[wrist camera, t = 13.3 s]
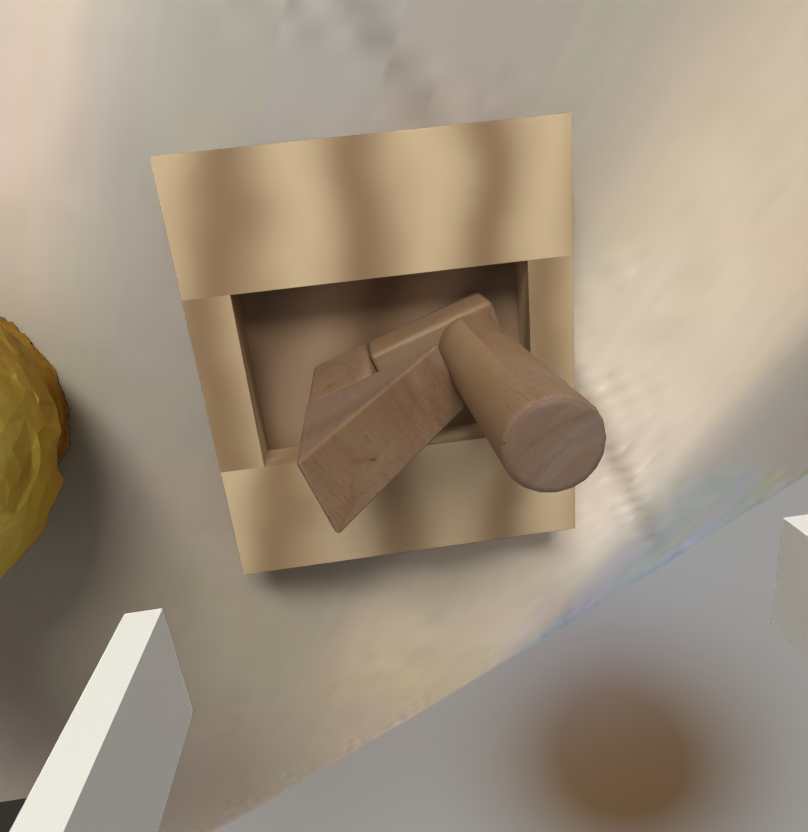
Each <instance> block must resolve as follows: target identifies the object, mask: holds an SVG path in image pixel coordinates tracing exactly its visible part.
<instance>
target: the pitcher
mask: <svg viewBox="0 0 808 832" xmlns="http://www.w3.org/2000/svg"><path fill="white" fill-rule="evenodd" d="M61 390H62V388H61V385H59V384H58V378H57V374H56V371H55V369H54V368H53V366H52V365H51V364H49V363H48V360H45V357H44V356H43V355H42V354H41V353H40V352H39V351H38V350H36V349H35V348H34V346H33V345H32V344H31V340H29V339H28V338H27V337H26V335H25V334H23V333H19V332H18V330H17V328H16V326H15V324H14V323H13V322H7V321H5V318H2V317H0V579H1V578H2V577H3V576H4V575H5V574H6V573H7V572H8V570H9V569H10V568H11V567H12V566H13V565H15V564H16V563H17V562H18V561H20V560H21V558H22V557H23V555H24V554H25V552H26V551H27V550H28V548H30V547H31V546H32V545H33V544H34V543H35V541H36V540H37V538H38V537H39V535H40V534H41V533H42V532H43V531H44V529H45V527H46V525H47V521H48V515H49V511H50V509H51V508H52V506H53V504H54V502H55V500H56V498H57V496H58V494H59V492H60V489H61V487H62V484H63V482H64V479H63V478H62V476H61V474H60V472H59V470H58V468H57V464H59V462H60V461H61V459H62V456H64V455H65V454H66V450H67V449H69V445H71V444H70V443H69V442H70V440H69V437H70V433H69V431H68V430H67V428H68V427H69V425H68V416H69V415H67V412H68V411H69V408H67V407H68V404H66V402H65V397H64V395H63V394H64V392H62V391H61Z"/></svg>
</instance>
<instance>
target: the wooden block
mask: <svg viewBox="0 0 808 832" xmlns="http://www.w3.org/2000/svg"><path fill="white" fill-rule="evenodd" d="M454 384H455V385H454ZM455 386H456V387H455ZM456 388H457V389H458V391H459V393H460V394H461V396H462V398H463V399H464V401H465V403H466V405H467V406H468V408H469V410H470V411H471V413H472V415H473V416H474V418H475V420H476V421H477V423H478V425H479V426H480V428H481V430H482V432H483V433H484V435H485V437H486V438H487V440H488V442H489V443H490V445H491V447H492V448H493V450H494V452H495V453H496V455H497V457H498V459H499V460H500V462H501V464H502V465H503V467H504V468H505V470H506V471H507V473H508V474H509V476H510V477H511V479H513V480H514V481H515V482H517V483H518V484H520V485H521V486H522V487H524V488H527V489H531V490H534V491H537V492H560V491H563V490H567V489H570V488H573V487H574V486H576V485H577V484H579V483H581V482H582V481H584V480H586V478H587V477H588V476H589V475H590V474H591V473H592V472H593V471H594V470H595V469H596V467H597V466H598V464H599V462H600V460H601V458H602V456H603V453H604V447H605V441H606V434H605V428H604V422H603V419H602V417H601V416H600V414H599V412H598V411H597V409H596V407H595V406H593V405H592V404H591V403H590V402H589V401H587V400H586V399H585V398H584V397H583V396H582V395H580V394H579V393H578V392H577V391H576V390H574V389H573V388H572V387H571V386H570V385H568V384H567V383H566V382H565V381H564V380H562V379H561V378H560V377H559V376H558V375H556V374H555V373H554V372H553V371H552V370H550V369H549V368H548V367H547V366H546V365H544V364H543V363H542V362H541V361H540V360H538V359H537V358H536V357H535V356H534V355H532V354H531V353H530V352H529V351H528V350H527V349H525V348H524V347H523V346H522V345H521V344H519V343H518V342H517V341H516V340H515V339H513V338H512V337H511V336H510V335H509V334H507V333H506V332H505V331H504V330H503V329H502V328H501V325H500V323H499V320H498V318H497V315H496V313H495V310H494V307H493V305H492V303H491V302H490V301H489V300H487V299H486V298H485V297H483V296H482V295H480V294H479V293H478V292H475V293H472V294H469V295H467V296H465V297H463V298H461V299H459V300H457V301H455V302H452V303H450V304H448V305H446V306H444V307H442V308H440V309H437V310H435V311H433V312H431V313H429V314H427V315H425V316H423V317H420V318H418V319H416V320H414V321H412V322H410V323H408V324H405V325H403V326H401V327H399V328H397V329H395V330H393V331H390V332H388V333H386V334H384V335H382V336H380V337H378V338H376V339H373V340H371V341H370V342H369V347H367V346H366V345H360V346H358V347H356V348H354V349H352V350H350V351H348V352H345V353H343V354H341V355H339V356H337V357H335V358H333V359H331V360H328V361H326V362H324V363H322V364H320V365H318V366H316V368H315V369H314V372H313V378H312V384H311V390H310V396H309V402H308V405H307V407H306V413H305V419H304V425H303V430H302V436H301V442H300V448H299V454H298V460H297V466H298V467H299V469H300V471H301V473H302V474H303V476H304V478H305V480H306V481H307V483H308V485H309V487H310V488H311V490H312V492H313V494H314V495H315V497H316V499H317V501H318V502H319V504H320V506H321V508H322V509H323V511H324V513H325V515H326V516H327V518H328V520H329V522H330V523H331V525H332V527H333V529H334V530H335V532H338V533H340V532H342V531H343V530H344V528H345V527H346V526H347V525H348V524H349V523H350V522H351V521H352V520H353V519H354V518H355V517H356V516H357V515H358V514H359V513H360V512H361V511H362V510H363V509H364V508H365V507H366V506H367V505H368V504H369V503H370V502H371V501H372V500H373V499H374V498H375V497H376V496H377V495H378V494H379V493H380V492H381V491H382V490H383V489H384V488H385V487H386V486H387V485H388V484H389V483H390V482H391V481H392V480H393V479H394V478H395V477H396V476H397V475H398V474H399V473H400V472H401V471H402V470H403V469H404V468H405V467H406V466H407V465H408V464H409V463H410V462H411V461H412V460H413V459H414V458H415V456H416V455H417V454H418V453H419V452H420V451H421V450H422V449H423V448H424V447H425V446H426V445H427V444H428V443H429V442H430V441H431V440H432V439H433V438H434V437H435V436H436V435H437V434H438V433H439V432H440V431H441V430H442V429H443V428H444V427H445V426H446V425H447V424H448V423H449V422H450V421H451V420H452V419H453V418H454V417H455V416H456V415H457V414H458V413H459V412H460V411H461V410H462V409H463V403H462V401H461V399H460V396H459V394H458V392H457V389H456Z"/></svg>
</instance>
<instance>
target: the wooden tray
mask: <svg viewBox="0 0 808 832" xmlns="http://www.w3.org/2000/svg"><path fill="white" fill-rule="evenodd" d="M150 161H151V166H152V170H153V175H154V179H155V183H156V188H157V192H158V197H159V201H160V205H161V210H162V214H163V219H164V223H165V228H166V232H167V236H168V241H169V245H170V250H171V254H172V258H173V263H174V267H175V272H176V276H177V281H178V285H179V289H180V294H181V298H182V303H183V307H184V311H185V316H186V320H187V325H188V329H189V334H190V338H191V342H192V347H193V351H194V356H195V360H196V364H197V369H198V373H199V378H200V382H201V387H202V391H203V395H204V400H205V404H206V409H207V413H208V417H209V422H210V426H211V431H212V435H213V440H214V444H215V448H216V453H217V457H218V462H219V466H220V470H221V475H222V479H223V484H224V488H225V493H226V497H227V501H228V506H229V510H230V515H231V519H232V523H233V528H234V532H235V537H236V541H237V546H238V550H239V554H240V559H241V563H242V568H243V572H244V574H251V573H258V572H266V571H273V570H280V569H287V568H294V567H301V566H308V565H315V564H323V563H330V562H337V561H344V560H351V559H358V558H365V557H372V556H380V555H387V554H394V553H401V552H408V551H415V550H422V549H429V548H437V547H444V546H451V545H458V544H465V543H472V542H479V541H486V540H494V539H501V538H508V537H515V536H522V535H529V534H536V533H543V532H551V531H558V530H565V529H572V528H575V486H574V487H573V488H570V489H567V490H563V491H560V492H537V491H534V490H531V489H527V488H524V487H522V486H521V485H520V484H518V483H517V482H515V481H514V480H513V479H511V477H510V476H509V474H508V473H507V471H506V470H505V468H504V467H503V465H502V464H501V462H500V460H499V459H498V457H497V455H496V453H495V452H494V450H493V448H492V447H491V445H490V443H489V442H488V440H487V438H486V437H485V435H484V433H483V432H482V430H481V428H480V426H479V425H478V423H477V421H476V420H475V418H474V416H473V415H472V413H471V411H470V410H469V408H468V406H467V405H466V403H465V401H464V399H463V398H462V396H461V394H460V393H459V391H458V389H457V388H456V389H457V392H458V394H459V396H460V399H461V401H462V403H463V409H462V410H461V411H460V412H459V413H458V414H457V415H456V416H455V417H454V418H453V419H452V420H451V421H450V422H449V423H448V424H447V425H446V426H445V427H444V428H443V429H442V430H441V431H440V432H439V433H438V434H437V435H436V436H435V437H434V438H433V439H432V440H431V441H430V442H429V443H428V444H427V445H426V446H425V447H424V448H423V449H422V450H421V451H420V452H419V453H418V454H417V455H416V456H415V458H414V459H413V460H412V461H411V462H410V463H409V464H408V465H407V466H406V467H405V468H404V469H403V470H402V471H401V472H400V473H399V474H398V475H397V476H396V477H395V478H394V479H393V480H392V481H391V482H390V483H389V484H388V485H387V486H386V487H385V488H384V489H383V490H382V491H381V492H380V493H379V494H378V495H377V496H376V497H375V498H374V499H373V500H372V501H371V502H370V503H369V504H368V505H367V506H366V507H365V508H364V509H363V510H362V511H361V512H360V513H359V514H358V515H357V516H356V517H355V518H354V519H353V520H352V521H351V522H350V523H349V524H348V525H347V526H346V527H345V528H344V530H343V531H342V532H340V533H338V532H335V530H334V529H333V527H332V525H331V523H330V522H329V520H328V518H327V516H326V515H325V513H324V511H323V509H322V508H321V506H320V504H319V502H318V501H317V499H316V497H315V495H314V494H313V492H312V490H311V488H310V487H309V485H308V483H307V481H306V480H305V478H304V476H303V474H302V473H301V471H300V469H299V467H298V466H297V460H298V454H299V448H300V442H301V436H302V430H303V425H304V419H305V413H306V407H307V405H308V402H309V396H310V390H311V384H312V378H313V372H314V369H315V368H316V366H318V365H320V364H322V363H324V362H326V361H328V360H331V359H333V358H335V357H337V356H339V355H341V354H343V353H345V352H348V351H350V350H352V349H354V348H356V347H358V346H360V345H366V346H367V347H369V342H370V341H371V340H373V339H376V338H378V337H380V336H382V335H384V334H386V333H388V332H390V331H393V330H395V329H397V328H399V327H401V326H403V325H405V324H408V323H410V322H412V321H414V320H416V319H418V318H420V317H423V316H425V315H427V314H429V313H431V312H433V311H435V310H437V309H440V308H442V307H444V306H446V305H448V304H450V303H452V302H455V301H457V300H459V299H461V298H463V297H465V296H467V295H469V294H472V293H475V292H478V293H479V294H480V295H482V296H483V297H485V298H486V299H487V300H489V301H490V302H491V303H492V305H493V307H494V310H495V313H496V315H497V318H498V320H499V323H500V325H501V328H502V329H503V330H504V331H505V332H506V333H507V334H509V335H510V336H511V337H512V338H513V339H515V340H516V341H517V342H518V343H519V344H521V345H522V346H523V347H524V348H525V349H527V350H528V351H529V352H530V353H531V354H532V355H534V356H535V357H536V358H537V359H538V360H540V361H541V362H542V363H543V364H544V365H546V366H547V367H548V368H549V369H550V370H552V371H553V372H554V373H555V374H556V375H558V376H559V377H560V378H561V379H562V380H564V381H565V382H566V383H567V384H568V385H570V386H571V387H572V388H573V389H574V325H573V185H572V113H564V114H554V115H544V116H535V117H525V118H516V119H506V120H496V121H487V122H477V123H467V124H458V125H448V126H439V127H429V128H419V129H410V130H400V131H391V132H381V133H371V134H362V135H352V136H342V137H333V138H323V139H314V140H304V141H294V142H285V143H275V144H266V145H256V146H246V147H237V148H227V149H217V150H208V151H198V152H189V153H179V154H169V155H160V156H150ZM454 385H455V384H454ZM455 387H456V386H455Z"/></svg>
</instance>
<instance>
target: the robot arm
mask: <svg viewBox="0 0 808 832" xmlns="http://www.w3.org/2000/svg"><path fill="white" fill-rule="evenodd" d="M771 625H772V626H774V627H775V629H776V630H777V631H778V632H779V633H780V634H781V635H782V636H783V637H784V638H785V639H786V640H787V641H788V642H789V643H790V644H791V645H792V646H793V647H794V648H795V649H796V650H797V651H798V652H799V653H800V654H801V655H802V656H803V657H804V658H805V659H806V660H807V661H808V515H801V516H794V517H787V518H783V522H782V531H781V539H780V547H779V556H778V564H777V573H776V581H775V589H774V598H773V607H772V615H771ZM192 715H193V709H192V706H191V703H190V699H189V696H188V693H187V689H186V686H185V682H184V679H183V676H182V672H181V669H180V666H179V662H178V659H177V655H176V652H175V649H174V645H173V642H172V638H171V635H170V632H169V628H168V625H167V622H166V618H165V615H164V611H163V608H161V609H154V610H147V611H140V612H133V613H127V614H124V616H123V618H122V619H121V621H120V623H119V625H118V627H117V629H116V631H115V633H114V635H113V637H112V638H111V640H110V642H109V644H108V646H107V648H106V650H105V652H104V654H103V655H102V657H101V659H100V661H99V663H98V665H97V667H96V669H95V671H94V672H93V674H92V676H91V678H90V680H89V682H88V684H87V686H86V688H85V689H84V691H83V693H82V695H81V697H80V699H79V701H78V703H77V705H76V706H75V708H74V710H73V712H72V714H71V716H70V718H69V720H68V722H67V724H66V725H65V727H64V729H63V731H62V733H61V735H60V737H59V739H58V741H57V742H56V744H55V746H54V748H53V750H52V752H51V754H50V756H49V758H48V759H47V761H46V763H45V765H44V767H43V769H42V771H41V773H40V775H39V776H38V778H37V780H36V782H35V784H34V786H33V788H32V790H31V792H30V793H29V795H28V797H27V798H25V799H18V800H12V801H6V802H0V832H158V830H159V827H160V823H161V820H162V816H163V813H164V810H165V806H166V803H167V799H168V796H169V793H170V789H171V786H172V782H173V779H174V776H175V772H176V769H177V766H178V762H179V759H180V755H181V752H182V749H183V745H184V742H185V738H186V735H187V732H188V728H189V725H190V722H191V718H192Z"/></svg>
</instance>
